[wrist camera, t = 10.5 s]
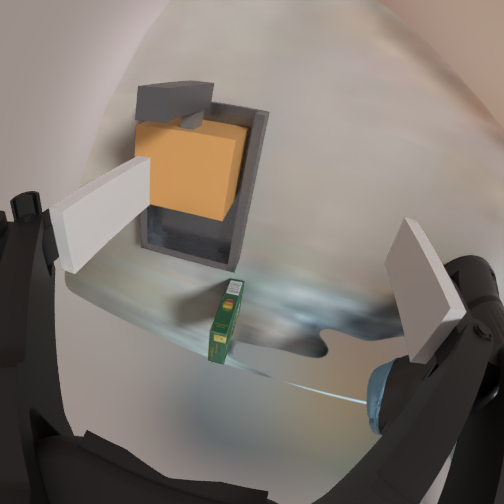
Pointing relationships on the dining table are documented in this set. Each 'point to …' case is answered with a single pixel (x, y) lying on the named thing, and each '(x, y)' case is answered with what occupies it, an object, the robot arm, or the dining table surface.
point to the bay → (206, 229)
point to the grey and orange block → (188, 149)
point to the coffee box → (225, 322)
